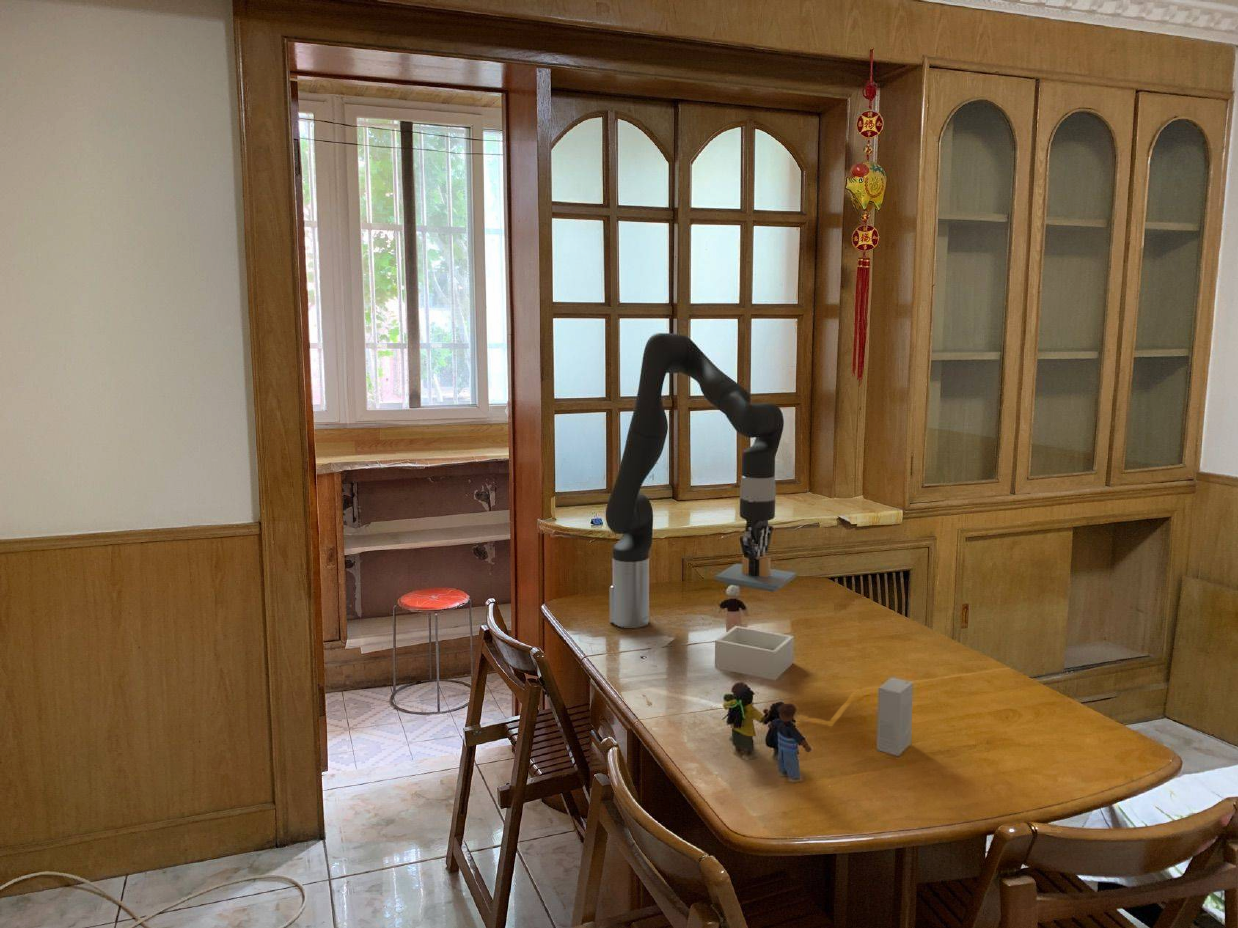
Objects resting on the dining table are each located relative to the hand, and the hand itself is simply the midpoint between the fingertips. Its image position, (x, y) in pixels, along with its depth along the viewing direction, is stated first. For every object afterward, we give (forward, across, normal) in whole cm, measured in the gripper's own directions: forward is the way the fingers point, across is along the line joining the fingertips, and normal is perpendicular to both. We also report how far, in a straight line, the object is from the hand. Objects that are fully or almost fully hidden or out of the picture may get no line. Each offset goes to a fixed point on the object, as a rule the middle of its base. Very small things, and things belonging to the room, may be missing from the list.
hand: (755, 573), depth 195 cm
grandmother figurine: (+22, -18, -13) cm, 31 cm away
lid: (+2, 0, 0) cm, 2 cm away
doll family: (+22, +38, +18) cm, 47 cm away
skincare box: (+22, +21, +36) cm, 47 cm away
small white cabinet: (+22, 0, 0) cm, 22 cm away
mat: (+22, 0, -17) cm, 28 cm away
